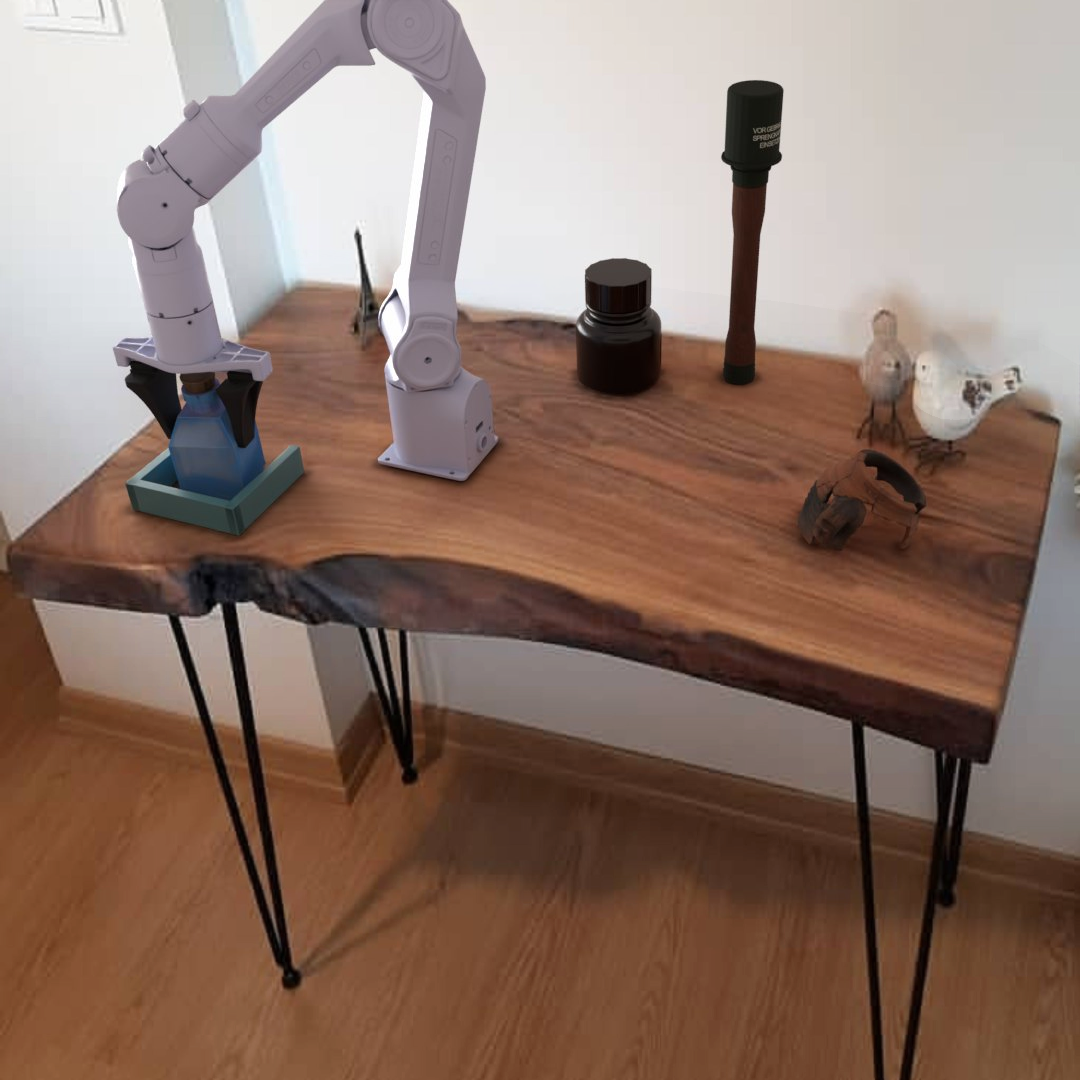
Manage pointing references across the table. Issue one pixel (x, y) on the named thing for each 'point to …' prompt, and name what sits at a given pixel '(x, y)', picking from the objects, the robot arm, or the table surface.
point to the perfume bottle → (210, 443)
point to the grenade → (748, 208)
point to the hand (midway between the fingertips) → (211, 438)
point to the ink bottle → (618, 329)
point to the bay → (227, 516)
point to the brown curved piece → (859, 500)
